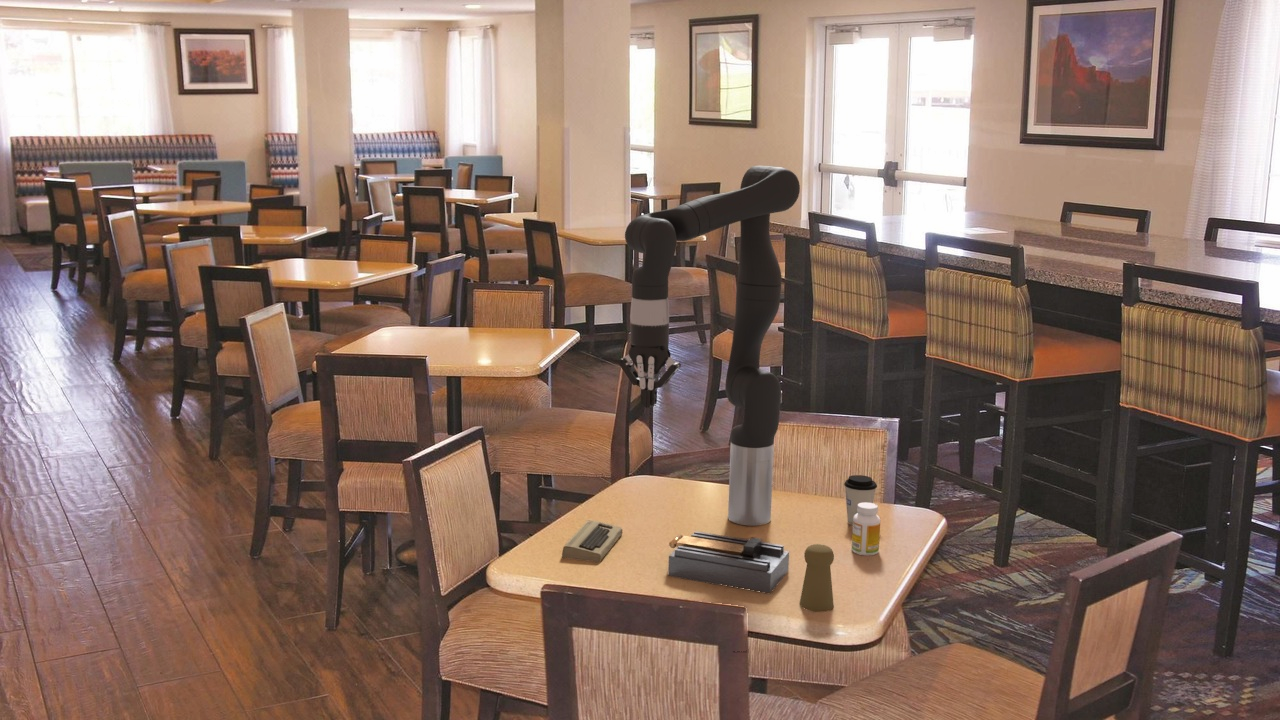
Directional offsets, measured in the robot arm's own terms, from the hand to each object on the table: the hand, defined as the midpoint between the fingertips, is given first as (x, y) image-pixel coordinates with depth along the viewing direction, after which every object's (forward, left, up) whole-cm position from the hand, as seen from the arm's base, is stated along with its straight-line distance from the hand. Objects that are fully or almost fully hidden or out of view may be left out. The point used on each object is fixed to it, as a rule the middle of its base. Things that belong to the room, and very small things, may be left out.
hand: (648, 406), depth 231 cm
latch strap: (+7, +16, -25) cm, 30 cm away
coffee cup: (-32, +36, -29) cm, 56 cm away
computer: (+5, -9, -30) cm, 31 cm away
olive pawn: (+14, +39, -29) cm, 51 cm away
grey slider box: (+7, +20, -29) cm, 36 cm away
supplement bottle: (-16, +41, -29) cm, 53 cm away
